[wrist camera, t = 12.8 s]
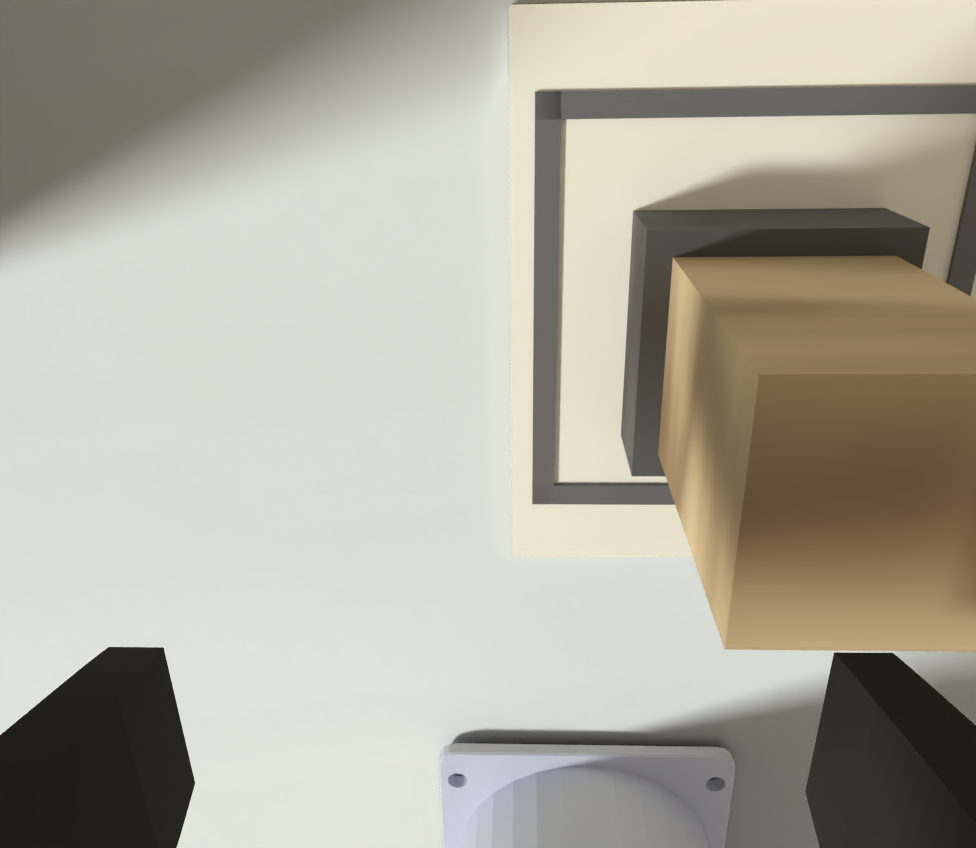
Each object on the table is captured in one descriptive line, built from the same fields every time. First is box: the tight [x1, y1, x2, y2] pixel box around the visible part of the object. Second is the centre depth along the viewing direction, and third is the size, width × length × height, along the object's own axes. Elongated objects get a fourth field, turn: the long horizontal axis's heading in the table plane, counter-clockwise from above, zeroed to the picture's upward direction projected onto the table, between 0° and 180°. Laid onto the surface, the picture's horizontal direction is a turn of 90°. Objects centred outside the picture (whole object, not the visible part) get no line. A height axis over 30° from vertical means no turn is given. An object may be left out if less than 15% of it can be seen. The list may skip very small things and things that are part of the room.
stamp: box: [621, 208, 976, 652], centre depth 14 cm, size 5×5×8 cm
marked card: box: [509, 0, 976, 557], centre depth 18 cm, size 12×10×1 cm
